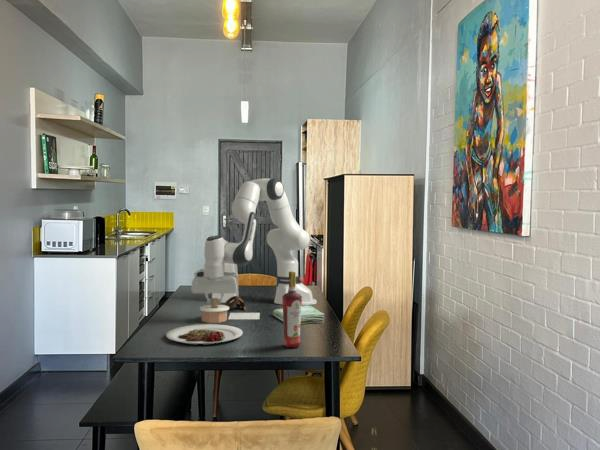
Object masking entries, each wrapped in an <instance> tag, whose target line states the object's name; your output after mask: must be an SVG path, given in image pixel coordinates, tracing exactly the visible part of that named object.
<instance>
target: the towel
mask: <svg viewBox="0 0 600 450" xmlns="http://www.w3.org/2000/svg"><path fill="white" fill-rule="evenodd" d="M272 316H273V317H275V318H277V319H279V321H281V322H283V308H276V309H274V310H273V311H272ZM324 320H325V313H324V312H321V311H319V310H318V309H316V307H314V306H312V305H302V307H301V322H300V325H306V324H307V325H308V324H316V323H317V324H321V323H322V324H323V323H324Z"/></svg>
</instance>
